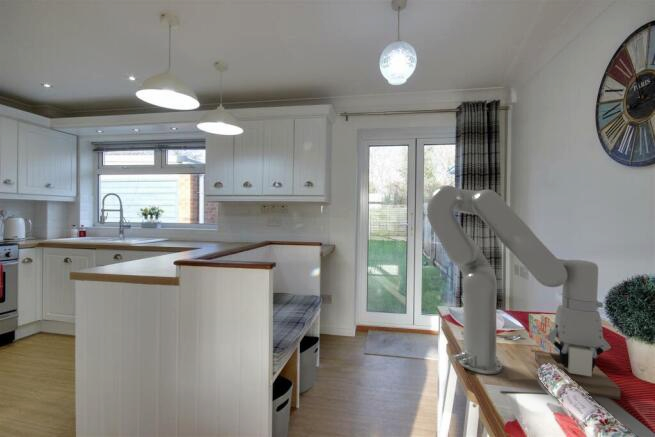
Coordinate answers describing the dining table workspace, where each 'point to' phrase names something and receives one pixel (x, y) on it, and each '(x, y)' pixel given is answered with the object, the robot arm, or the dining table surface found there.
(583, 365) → the cream block
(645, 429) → the dining table surface
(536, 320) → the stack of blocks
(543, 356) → the walnut puzzle board
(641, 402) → the dining table surface
